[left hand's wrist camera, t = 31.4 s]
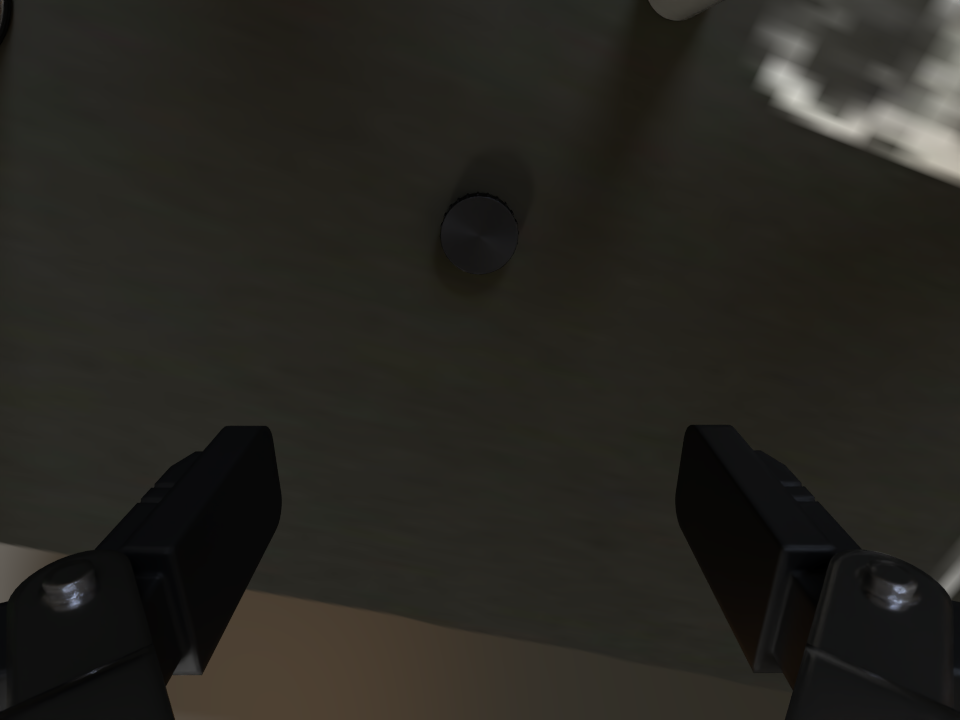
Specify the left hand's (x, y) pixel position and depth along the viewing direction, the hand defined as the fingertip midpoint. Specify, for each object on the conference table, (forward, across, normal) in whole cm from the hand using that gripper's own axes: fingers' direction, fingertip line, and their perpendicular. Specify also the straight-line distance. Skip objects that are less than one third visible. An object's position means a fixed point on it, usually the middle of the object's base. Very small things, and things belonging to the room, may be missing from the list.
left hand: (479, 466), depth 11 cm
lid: (+27, 0, 0) cm, 27 cm away
